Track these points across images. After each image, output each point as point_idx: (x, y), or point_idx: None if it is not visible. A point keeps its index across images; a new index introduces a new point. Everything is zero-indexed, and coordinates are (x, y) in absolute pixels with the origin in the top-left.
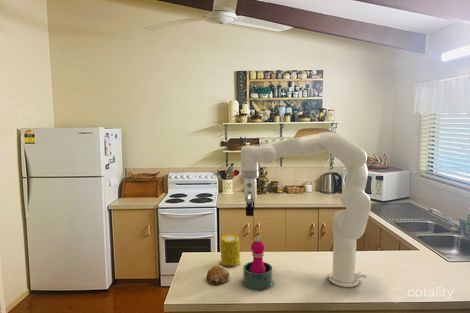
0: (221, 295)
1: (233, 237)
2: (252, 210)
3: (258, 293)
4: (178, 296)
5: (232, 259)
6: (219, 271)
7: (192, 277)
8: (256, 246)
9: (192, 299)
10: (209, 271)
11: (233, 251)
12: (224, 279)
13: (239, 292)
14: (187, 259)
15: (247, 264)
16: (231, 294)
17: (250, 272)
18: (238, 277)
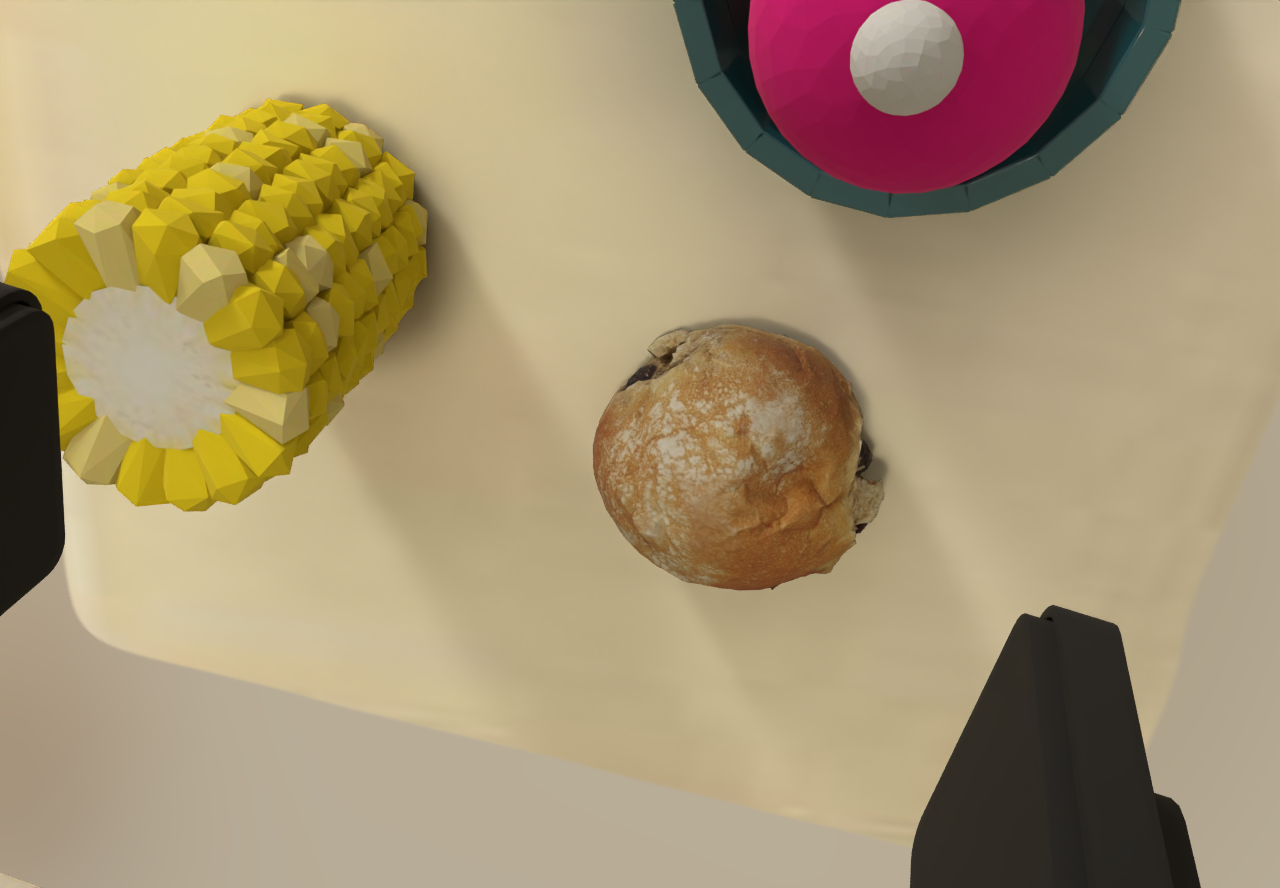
0: (1111, 458)
1: (99, 307)
2: (1134, 860)
3: (1223, 3)
4: None
5: (401, 251)
6: (783, 492)
7: (644, 662)
8: (1042, 108)
9: None
10: (737, 587)
11: (351, 278)
12: (852, 408)
13: (1110, 250)
14: (236, 652)
15: (762, 124)
16: (1126, 350)
17: (1067, 139)
18: (722, 189)
